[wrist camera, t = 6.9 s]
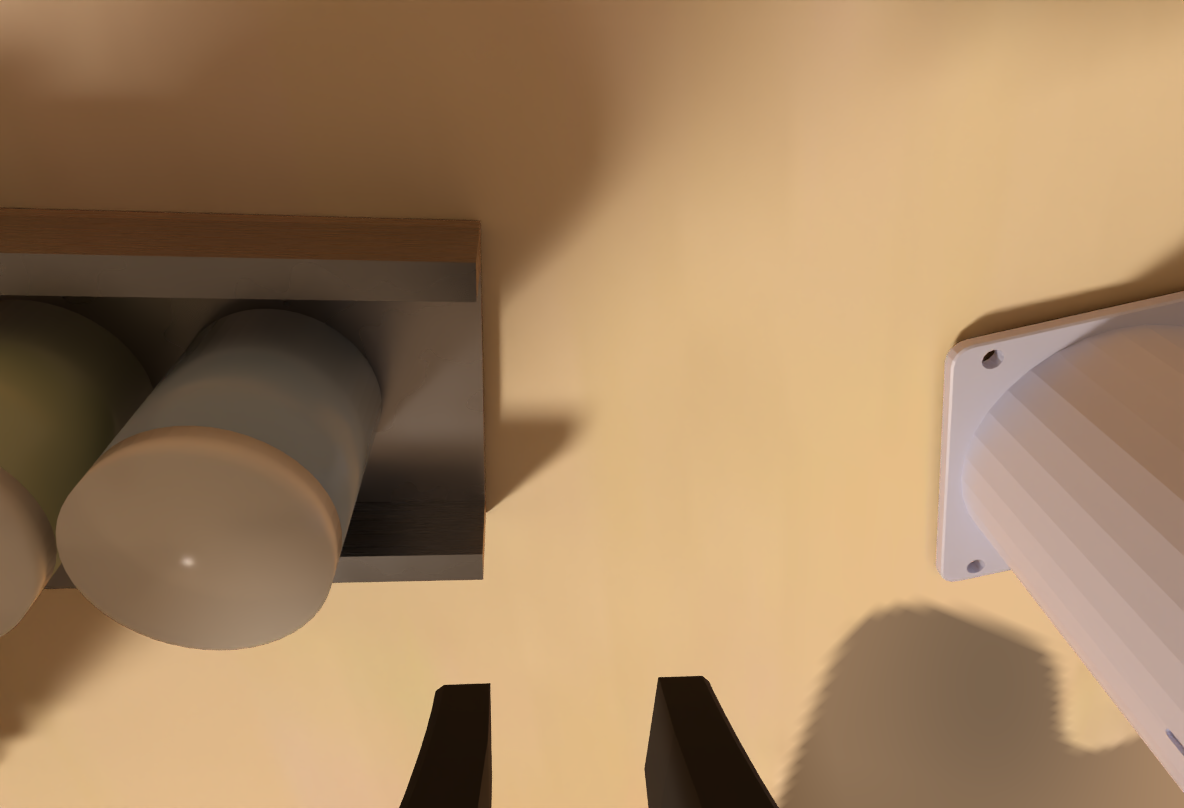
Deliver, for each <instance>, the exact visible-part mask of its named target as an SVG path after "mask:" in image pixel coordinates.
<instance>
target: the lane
mask: <svg viewBox="0 0 1184 808" xmlns="http://www.w3.org/2000/svg"><path fill="white" fill-rule="evenodd" d="M0 300H30V301H37V302H43V303H48V304H51V305H55V306H59V307H62V308H65V309H67V310H70V311H73V312H75V313H78V314H80V315H82V316H84V317H86V318H88V319H90V320H92V321H93V322H95V323H97V324H98V325H100V326H101V327H103V328H105V329H106V330H107V331H109V332H110V333H111V334H113V335H114V336H115V337H117V338H118V339H119V340H120V341H121V342H122V343H123V344H124V345H125V346H126V347H127V348H128V349H129V350H130V351H131V352H132V353H133V354H134V356H135V357H136V358H137V359H138V361H139V362H140V364H141V365H142V367H143V368H144V370H145V371H146V373H147V375H148V377H149V379H150V381H151V384H152V387H153V390H154V388H155V387H156V386H157V385H158V383H159V382H160V381H161V380H162V378H163V377H164V376H165V375H166V373H167V372H168V371H169V370H170V368H171V367H172V366H173V365H174V363H175V362H176V361H177V360H178V359H179V357H180V356H181V355H182V354H183V352H184V351H185V350H186V349H187V347H188V346H189V345H190V344H191V342H192V341H193V340H194V339H195V338H196V337H197V335H198V334H199V333H200V332H201V331H202V330H204V329H205V328H206V327H207V326H208V325H210V324H212V323H213V322H215V321H217V320H218V319H220V318H223V317H225V316H227V315H230V314H233V313H237V312H240V311H245V310H252V309H278V310H286V311H291V312H296V313H300V314H303V315H306V316H309V317H312V318H314V319H316V320H318V321H321V322H323V323H325V324H327V325H328V326H330V327H332V328H333V329H335V330H337V331H338V332H339V333H341V334H342V335H343V336H345V337H346V338H347V339H349V340H350V341H351V342H352V343H353V344H354V345H355V346H356V347H357V348H358V349H359V351H360V352H361V353H362V354H363V355H364V357H365V358H366V359H367V361H368V363H369V364H370V366H371V367H372V369H373V371H374V374H375V376H376V378H377V381H378V384H379V388H380V392H381V399H382V409H381V416H380V422H379V425H378V428H377V432H376V435H375V439H374V442H373V445H372V449H371V452H370V456H369V459H368V462H367V466H366V469H365V473H364V476H363V479H362V483H361V486H360V490H359V493H358V496H357V500H356V503H355V507H354V510H353V513H352V517H351V520H350V524H349V527H348V530H347V534H346V537H345V541H344V544H343V547H342V551H341V554H340V558H339V561H338V564H337V568H336V571H335V575H334V578H333V581H332V583H342V582H389V581H436V580H483V569H484V546H485V523H486V495H485V443H484V390H483V338H482V285H481V232H480V221H471V220H433V219H395V218H357V217H319V216H281V215H243V214H205V213H167V212H130V211H92V210H54V209H16V208H0ZM60 588H77V587H76V586H75V585H74V584H73V582H72V581H71V579H70V577H69V576H68V574H67V573H66V571H65V569H64V566H63V564H62V563H61V564H60V566H59V567H58V569H57V570H56V572H55V573H54V574H53V576H52V577H51V579H50V580H49V582H48V583H47V584H46V586H45V587H44V589H60Z"/></svg>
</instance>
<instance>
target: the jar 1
mask: <svg viewBox="0 0 1184 808" xmlns="http://www.w3.org/2000/svg"><path fill="white" fill-rule="evenodd" d="M152 391H153V387H152V384H151V381H150V379H149V377H148V375H147V373H146V371H145V370H144V368H143V367H142V365H141V364H140V362H139V361H138V359H137V358H136V357H135V356H134V354H133V353H132V352H131V351H130V350H129V349H128V348H127V347H126V346H125V345H124V344H123V343H122V342H121V341H120V340H119V339H118V338H117V337H115V336H114V335H113V334H111V333H110V332H109V331H107V330H106V329H105V328H103V327H101V326H100V325H98V324H97V323H95V322H93V321H92V320H90V319H88V318H86V317H84V316H82V315H80V314H78V313H75V312H73V311H70V310H67V309H65V308H62V307H59V306H55V305H51V304H48V303H43V302H37V301H30V300H0V637H1V636H3V635H5V634H7V633H8V632H9V631H10V630H12V629H13V628H14V627H15V626H16V625H17V624H18V623H19V622H20V621H21V619H22V618H23V617H24V616H25V614H26V613H27V611H28V610H29V609H30V607H31V606H32V604H33V603H34V601H35V600H36V599H37V597H38V596H39V594H40V593H41V592H42V590H43V589H44V587H45V586H46V584H47V583H48V582H49V580H50V579H51V577H52V576H53V574H54V573H55V572H56V570H57V569H58V567H59V566H60V564H61V563H62V562H61V560H60V557H59V553H58V549H57V544H56V525H57V519H58V516H59V513H60V510H61V507H62V505H63V504H64V502H65V500H66V498H67V497H68V495H69V494H70V493H71V491H72V490H73V489H74V488H75V486H76V485H77V484H78V483H79V481H80V480H81V479H82V478H83V476H84V475H85V474H86V473H87V471H88V470H89V469H90V468H91V467H92V465H93V464H94V463H95V462H96V460H97V459H98V458H99V457H100V455H101V454H102V453H103V452H104V450H105V449H106V448H107V447H108V445H109V444H110V443H111V442H112V440H113V439H114V438H115V437H116V435H117V434H118V433H119V432H120V431H121V429H122V428H123V427H124V426H125V424H126V423H127V422H128V421H129V419H130V418H131V417H132V416H133V414H134V413H135V412H136V411H137V409H138V408H139V407H140V406H141V404H142V403H143V402H144V401H145V399H146V398H147V397H148V396H149V395H150V393H151V392H152Z"/></svg>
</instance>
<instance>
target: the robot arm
mask: <svg viewBox="0 0 1184 808" xmlns="http://www.w3.org/2000/svg"><path fill="white" fill-rule="evenodd" d="M992 350H995V351H994V354H993V355H992V356H991V357H990V358H989V359H987V360H985V361H982V360H983V357H984V356H985V355H986V354H987V353H988V352H990V351H992ZM972 561H973V562H972ZM936 568H937V571H938V572H939V574H940V575H941V577H942V578H943V579H945V580H947V581H950V582H952V581H961V580H965V579H970V578H975V577H979V576H984V575H989V574H994V573H998V572H1003V571H1008V570H1012V571H1013V573H1014V574H1015V575H1016V577H1017V578H1018V579H1019V580H1020V582H1021V583H1022V584H1023V586H1024V587H1025V588H1026V589H1027V591H1028V592H1029V593H1030V595H1031V596H1032V597H1033V599H1034V600H1035V601H1036V602H1037V604H1038V605H1039V606H1040V608H1041V609H1042V610H1043V611H1044V613H1045V614H1046V615H1047V617H1048V618H1049V619H1050V621H1051V622H1052V623H1053V624H1054V626H1055V627H1056V628H1057V630H1058V631H1059V632H1060V633H1061V635H1062V636H1063V637H1064V639H1065V640H1066V641H1067V643H1068V644H1069V645H1070V646H1071V648H1072V649H1073V650H1074V652H1075V653H1076V654H1077V655H1078V657H1079V658H1080V659H1081V661H1082V662H1083V663H1084V665H1085V666H1086V667H1087V668H1088V670H1089V671H1090V672H1091V674H1092V675H1093V676H1094V677H1095V679H1096V680H1097V681H1098V683H1099V684H1100V685H1101V687H1102V688H1103V689H1104V690H1105V692H1106V693H1107V694H1108V696H1109V697H1110V698H1111V699H1112V701H1113V702H1114V703H1115V705H1116V706H1117V707H1118V709H1119V710H1120V711H1121V712H1122V714H1123V715H1124V716H1125V718H1126V719H1127V720H1128V722H1129V723H1130V724H1131V725H1132V727H1133V728H1134V729H1135V731H1136V732H1137V733H1138V734H1139V736H1140V737H1141V738H1142V740H1143V741H1144V742H1145V744H1146V745H1147V746H1148V747H1149V749H1150V750H1151V751H1152V753H1153V754H1154V755H1155V756H1156V758H1157V759H1158V760H1159V762H1160V763H1161V764H1162V765H1163V767H1164V768H1165V769H1166V771H1167V772H1168V773H1169V774H1170V776H1171V777H1172V778H1173V780H1174V781H1175V782H1176V784H1177V785H1178V786H1179V788H1180V789H1181V790H1182V791H1183V793H1184V291H1181V292H1177V293H1172V294H1168V295H1163V296H1159V297H1154V298H1150V299H1145V300H1141V301H1136V302H1132V303H1127V304H1123V305H1118V306H1114V307H1109V308H1105V309H1100V310H1096V311H1091V312H1087V313H1082V314H1078V315H1073V316H1069V317H1065V318H1060V319H1056V320H1051V321H1047V322H1042V323H1038V324H1033V325H1029V326H1024V327H1020V328H1015V329H1011V330H1006V331H1002V332H997V333H993V334H988V335H984V336H979V337H975V338H970V339H966V340H964V341H961V342H958V343H957V344H956V345H955V346H953V347H952V348H951V349H950V351H949V352H948V354H947V356H946V359H945V371H944V394H943V416H942V438H941V461H940V483H939V506H938V528H937V550H936ZM645 778H646V788H647V797H648V806H649V808H779V807H778V806H777V804H776V803H775V801H774V800H773V798H772V796H771V795H770V793H769V791H768V790H767V788H766V786H765V785H764V783H763V781H762V780H761V778H760V776H759V775H758V773H757V771H756V769H755V768H754V766H753V764H752V762H751V761H750V759H749V757H748V755H747V754H746V752H745V750H744V748H743V747H742V745H741V743H740V741H739V739H738V737H737V736H736V734H735V732H734V730H733V728H732V726H731V725H730V723H729V721H728V719H727V717H726V715H725V713H724V711H723V709H722V707H721V705H720V703H719V701H718V699H717V697H716V695H715V693H714V691H713V689H712V687H711V685H710V683H709V681H708V680H706V679H705V678H704V677H703V676H686V677H658V683H657V690H656V697H655V703H654V710H653V717H652V723H651V730H650V736H649V743H648V750H647V756H646V763H645ZM491 800H492V755H491V699H490V683H487V684H459V685H443V686H442V687H441V688H439V689H438V690H437V691H436V692H435V697H434V702H433V707H432V711H431V715H430V719H429V722H428V726H427V730H426V733H425V736H424V740H423V743H422V746H421V749H420V752H419V755H418V758H417V761H416V764H415V767H414V770H413V773H412V775H411V778H410V781H409V784H408V787H407V789H406V792H405V795H404V797H403V800H402V802H401V805H400V807H399V808H491Z"/></svg>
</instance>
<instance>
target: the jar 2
mask: <svg viewBox="0 0 1184 808" xmlns="http://www.w3.org/2000/svg"><path fill="white" fill-rule="evenodd" d="M381 409H382V399H381V392H380V388H379V384H378V381H377V378H376V376H375V374H374V371H373V369H372V367H371V366H370V364H369V363H368V361H367V359H366V358H365V357H364V355H363V354H362V353H361V352H360V351H359V349H358V348H357V347H356V346H355V345H354V344H353V343H352V342H351V341H350V340H349V339H347V338H346V337H345V336H343V335H342V334H341V333H339V332H338V331H337V330H335V329H333V328H332V327H330V326H328V325H327V324H325V323H323V322H321V321H318V320H316V319H314V318H312V317H309V316H306V315H303V314H300V313H296V312H291V311H286V310H278V309H252V310H245V311H240V312H237V313H233V314H230V315H227V316H225V317H223V318H220V319H218V320H217V321H215V322H213V323H212V324H210V325H208V326H207V327H206V328H205V329H204V330H202V331H201V332H200V333H199V334H198V335H197V337H196V338H195V339H194V340H193V341H192V342H191V344H190V345H189V346H188V347H187V349H186V350H185V351H184V352H183V354H182V355H181V356H180V357H179V359H178V360H177V361H176V362H175V363H174V365H173V366H172V367H171V368H170V370H169V371H168V372H167V373H166V375H165V376H164V377H163V378H162V380H161V381H160V382H159V383H158V385H157V386H156V387H155V388H154V390H153V391H152V392H151V393H150V395H149V396H148V397H147V398H146V399H145V401H144V402H143V403H142V404H141V406H140V407H139V408H138V409H137V411H136V412H135V413H134V414H133V416H132V417H131V418H130V419H129V421H128V422H127V423H126V424H125V426H124V427H123V428H122V429H121V431H120V432H119V433H118V434H117V435H116V437H115V438H114V439H113V440H112V442H111V443H110V444H109V445H108V447H107V448H106V449H105V450H104V452H103V453H102V454H101V455H100V457H99V458H98V459H97V460H96V462H95V463H94V464H93V465H92V467H91V468H90V469H89V470H88V471H87V473H86V474H85V475H84V476H83V478H82V479H81V480H80V481H79V483H78V484H77V485H76V486H75V488H74V489H73V490H72V491H71V493H70V494H69V495H68V497H67V498H66V500H65V502H64V504H63V505H62V507H61V510H60V513H59V516H58V519H57V525H56V544H57V549H58V553H59V557H60V560H61V562H62V564H63V566H64V569H65V571H66V573H67V574H68V576H69V577H70V579H71V581H72V582H73V584H74V585H75V586H76V587H77V589H78V590H79V591H80V592H81V593H82V595H83V596H84V597H85V598H86V599H88V600H89V601H90V602H91V603H92V604H93V605H94V606H95V607H96V608H98V609H99V610H100V611H102V612H103V613H104V614H105V615H107V616H108V617H110V618H111V619H113V620H115V621H116V622H118V623H120V624H121V625H123V626H125V627H127V628H129V629H131V630H133V631H135V632H137V633H139V634H142V635H145V636H147V637H150V638H152V639H155V640H158V641H162V642H165V643H168V644H173V645H177V646H182V647H187V648H195V649H203V650H236V649H244V648H251V647H256V646H260V645H264V644H268V643H270V642H273V641H276V640H279V639H281V638H283V637H285V636H287V635H289V634H292V633H293V632H295V631H296V630H298V629H299V628H301V627H302V626H304V625H305V624H306V623H307V622H308V621H310V620H311V619H312V618H313V617H314V616H315V615H316V613H317V612H318V611H319V610H320V608H321V607H322V605H323V604H324V602H325V600H326V598H327V596H328V593H329V591H330V588H331V585H332V581H333V578H334V575H335V571H336V568H337V564H338V561H339V558H340V554H341V551H342V547H343V544H344V541H345V537H346V534H347V530H348V527H349V524H350V520H351V517H352V513H353V510H354V507H355V503H356V500H357V496H358V493H359V490H360V486H361V483H362V479H363V476H364V473H365V469H366V466H367V462H368V459H369V456H370V452H371V449H372V445H373V442H374V439H375V435H376V432H377V428H378V425H379V422H380V416H381Z"/></svg>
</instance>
